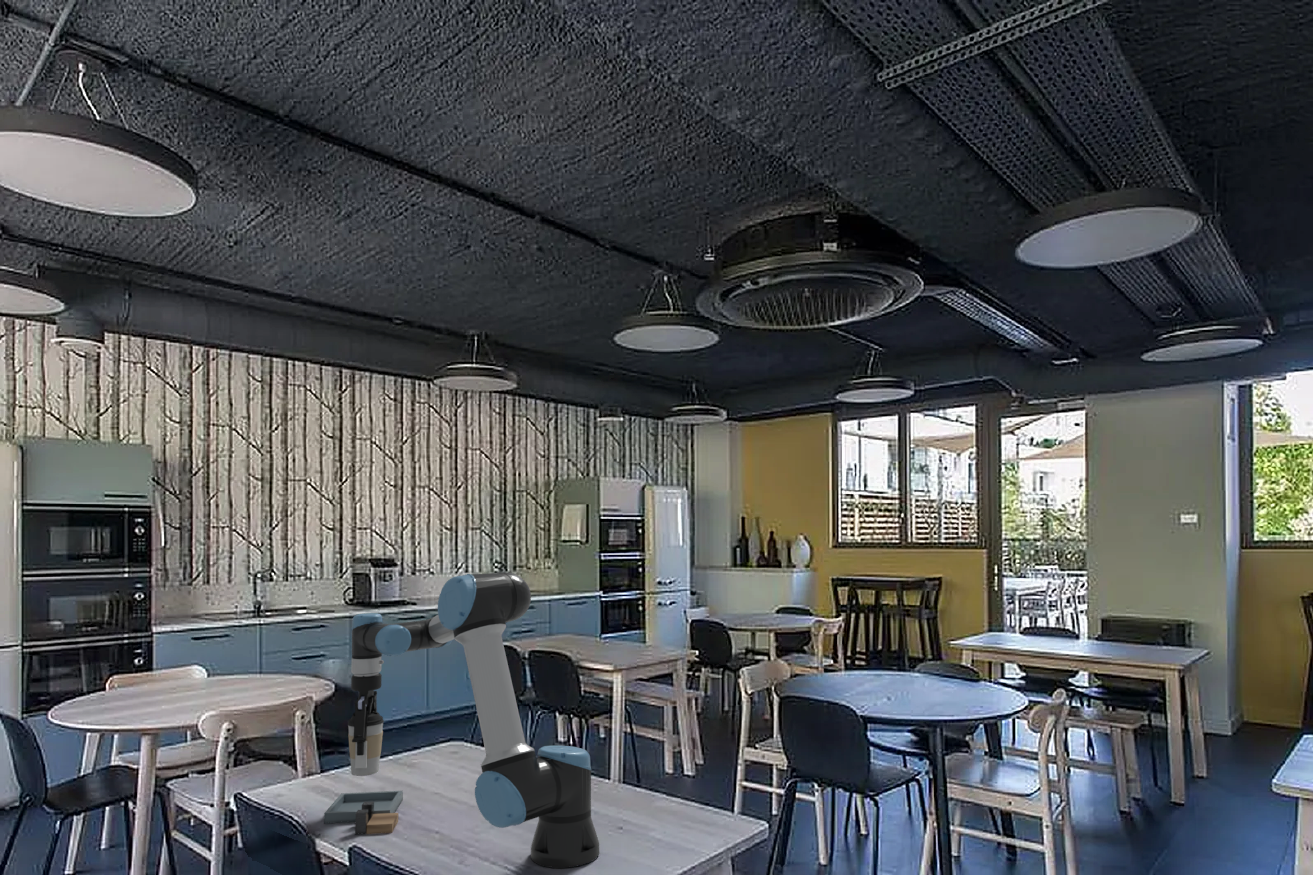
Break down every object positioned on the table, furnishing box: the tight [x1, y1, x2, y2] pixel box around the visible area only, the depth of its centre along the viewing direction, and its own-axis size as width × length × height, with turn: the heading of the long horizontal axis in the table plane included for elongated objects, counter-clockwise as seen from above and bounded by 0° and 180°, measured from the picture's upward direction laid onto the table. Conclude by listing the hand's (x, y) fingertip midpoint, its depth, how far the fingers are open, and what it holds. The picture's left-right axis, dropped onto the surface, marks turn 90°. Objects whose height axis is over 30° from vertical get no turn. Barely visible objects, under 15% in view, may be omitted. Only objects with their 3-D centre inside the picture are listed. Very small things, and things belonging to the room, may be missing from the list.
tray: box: [323, 790, 404, 825], centre depth 227 cm, size 16×16×2 cm
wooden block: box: [365, 812, 399, 835], centre depth 215 cm, size 8×6×2 cm
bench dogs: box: [354, 802, 374, 836], centre depth 214 cm, size 8×2×5 cm, turn 5°
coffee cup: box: [347, 711, 385, 777], centre depth 228 cm, size 9×9×15 cm
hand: (365, 762), depth 228 cm, fingers closed on coffee cup, 9 cm apart
